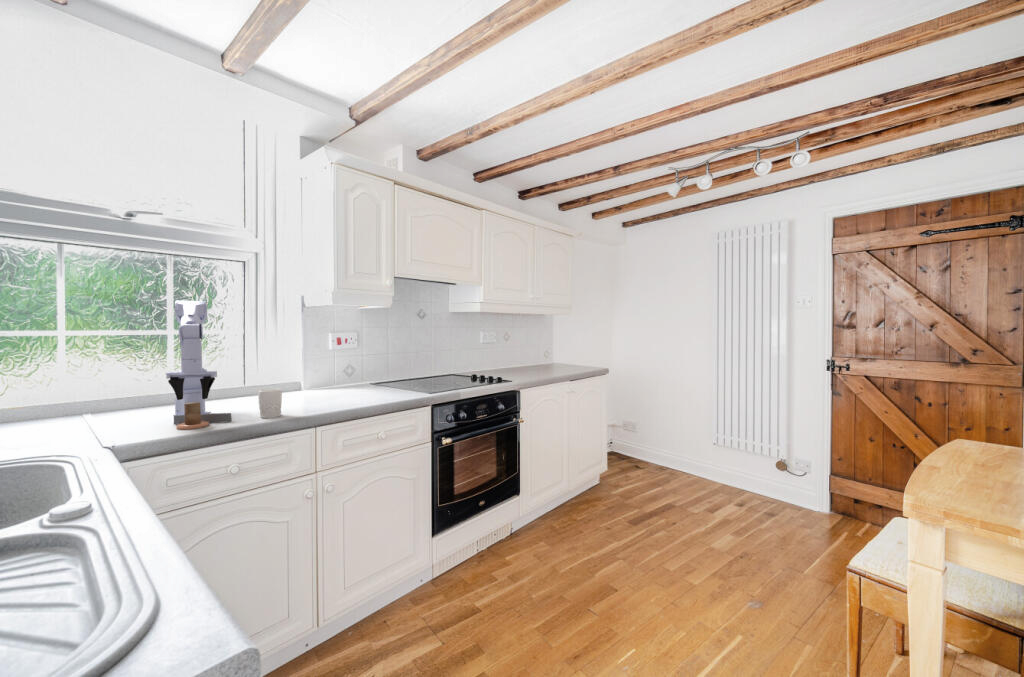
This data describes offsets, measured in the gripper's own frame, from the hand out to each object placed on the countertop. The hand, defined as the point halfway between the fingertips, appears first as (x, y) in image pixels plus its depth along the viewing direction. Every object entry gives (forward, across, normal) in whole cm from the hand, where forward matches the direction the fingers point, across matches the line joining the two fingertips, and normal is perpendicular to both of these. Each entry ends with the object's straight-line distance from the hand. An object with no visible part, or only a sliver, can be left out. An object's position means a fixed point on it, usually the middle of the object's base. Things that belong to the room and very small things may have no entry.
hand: (192, 399), depth 148 cm
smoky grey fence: (+9, 0, +6) cm, 11 cm away
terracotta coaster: (+9, 0, 0) cm, 9 cm away
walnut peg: (+8, 0, 0) cm, 8 cm away
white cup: (+10, +20, +13) cm, 26 cm away
